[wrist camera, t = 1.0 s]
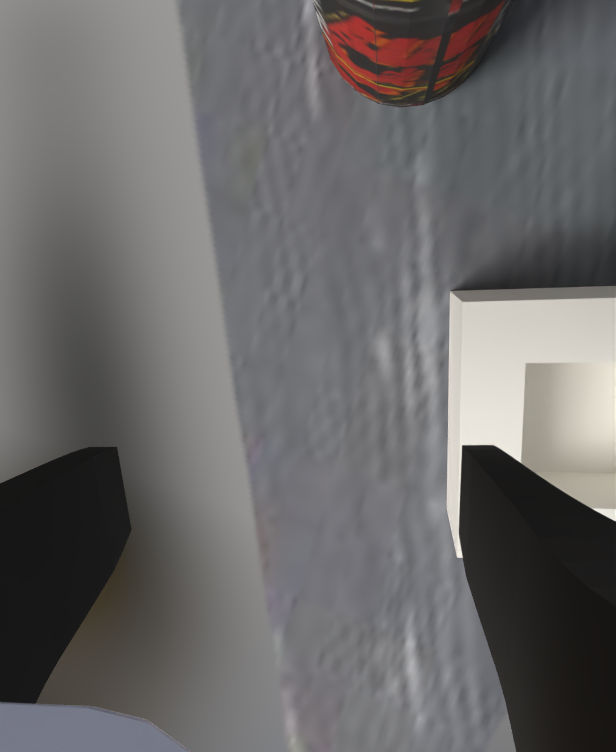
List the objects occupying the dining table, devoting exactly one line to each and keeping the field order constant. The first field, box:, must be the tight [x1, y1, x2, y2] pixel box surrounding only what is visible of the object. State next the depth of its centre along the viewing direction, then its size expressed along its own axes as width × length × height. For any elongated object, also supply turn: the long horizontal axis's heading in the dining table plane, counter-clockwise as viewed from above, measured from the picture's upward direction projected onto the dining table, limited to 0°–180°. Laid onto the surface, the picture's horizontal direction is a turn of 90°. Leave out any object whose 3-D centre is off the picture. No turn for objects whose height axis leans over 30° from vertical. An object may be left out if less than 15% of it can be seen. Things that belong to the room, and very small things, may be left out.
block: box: [447, 286, 616, 558], centre depth 20 cm, size 9×9×4 cm
